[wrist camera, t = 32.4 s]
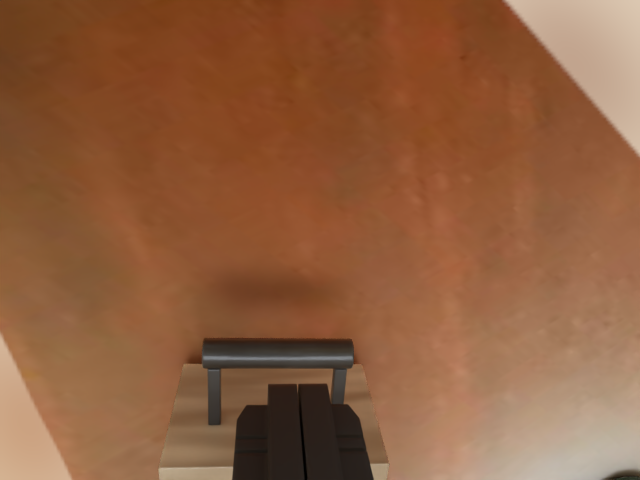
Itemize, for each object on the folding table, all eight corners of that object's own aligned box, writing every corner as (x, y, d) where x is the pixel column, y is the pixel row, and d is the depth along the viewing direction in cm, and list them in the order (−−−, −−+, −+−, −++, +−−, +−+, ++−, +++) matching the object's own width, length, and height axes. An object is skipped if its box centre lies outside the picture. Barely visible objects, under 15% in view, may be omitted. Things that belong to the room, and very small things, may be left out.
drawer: (181, 290, 29) (152, 379, 22) (370, 293, 30) (402, 379, 23) (189, 532, 36) (170, 661, 29) (343, 527, 37) (361, 650, 30)
